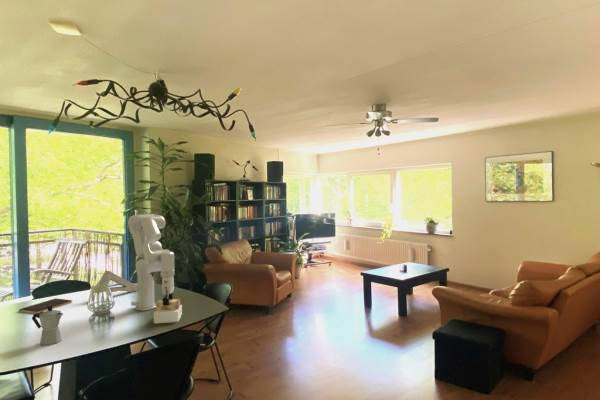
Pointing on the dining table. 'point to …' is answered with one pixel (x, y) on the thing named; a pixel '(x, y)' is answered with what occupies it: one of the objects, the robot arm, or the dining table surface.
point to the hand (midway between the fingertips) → (167, 302)
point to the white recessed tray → (167, 315)
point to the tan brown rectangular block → (173, 305)
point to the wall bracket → (113, 277)
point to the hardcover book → (45, 305)
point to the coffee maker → (49, 326)
